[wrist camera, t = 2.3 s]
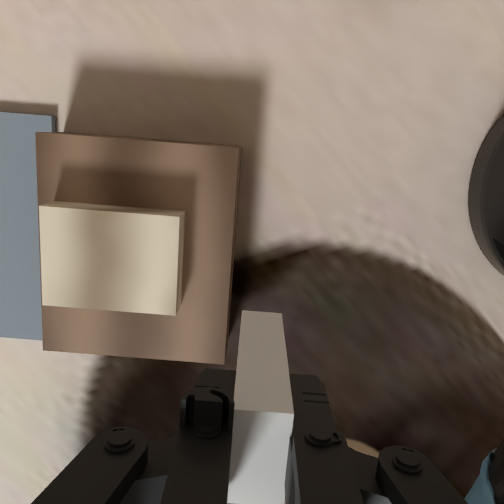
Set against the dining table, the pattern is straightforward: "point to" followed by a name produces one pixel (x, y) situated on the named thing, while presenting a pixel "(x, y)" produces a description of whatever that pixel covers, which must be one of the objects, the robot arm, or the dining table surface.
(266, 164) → the dining table surface
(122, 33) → the dining table surface
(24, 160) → the rubber mat
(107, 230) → the birch tile
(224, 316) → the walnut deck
